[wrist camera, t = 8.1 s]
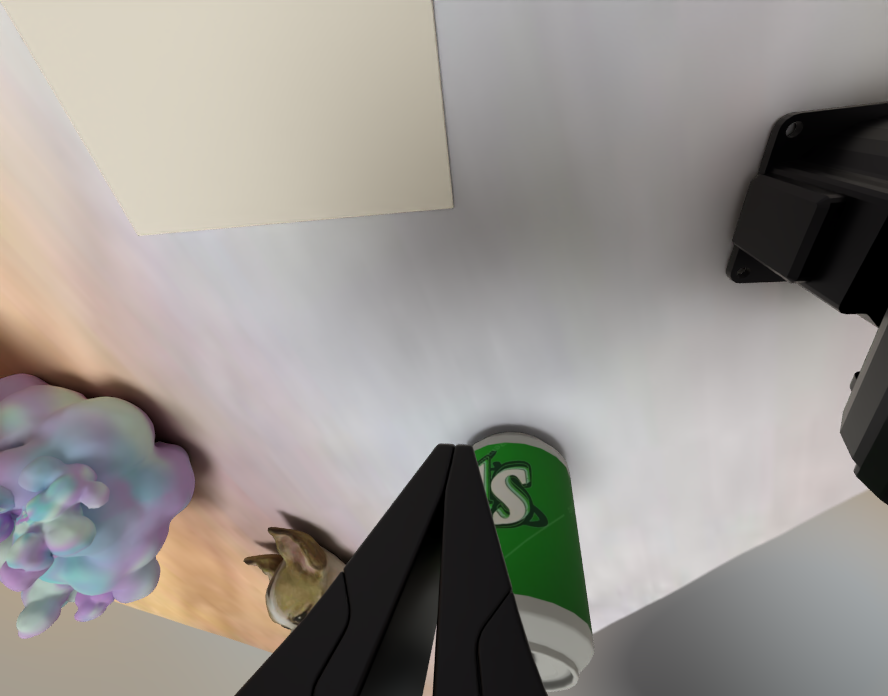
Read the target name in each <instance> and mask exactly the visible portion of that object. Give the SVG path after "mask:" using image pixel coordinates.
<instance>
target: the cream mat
mask: <svg viewBox="0 0 888 696" xmlns="http://www.w3.org/2000/svg"><path fill="white" fill-rule="evenodd" d="M0 2H1V3H2V5H3V7H4V9H5V10H6V12H7V14H8V15H9V17H10V19H11V21H12V22H13V24H14V26H15V27H16V29H17V31H18V32H19V34H20V36H21V38H22V39H23V41H24V43H25V44H26V46H27V48H28V49H29V51H30V53H31V55H32V56H33V58H34V60H35V61H36V63H37V65H38V66H39V68H40V70H41V72H42V73H43V75H44V77H45V78H46V80H47V82H48V83H49V85H50V87H51V89H52V90H53V92H54V94H55V95H56V97H57V99H58V100H59V102H60V104H61V106H62V107H63V109H64V111H65V112H66V114H67V116H68V117H69V119H70V121H71V123H72V124H73V126H74V128H75V129H76V131H77V133H78V134H79V136H80V138H81V140H82V141H83V143H84V145H85V146H86V148H87V150H88V151H89V153H90V155H91V157H92V158H93V160H94V162H95V163H96V165H97V167H98V169H99V170H100V172H101V174H102V175H103V177H104V179H105V180H106V182H107V184H108V186H109V187H110V189H111V191H112V192H113V194H114V196H115V197H116V199H117V201H118V203H119V204H120V206H121V208H122V209H123V211H124V213H125V214H126V216H127V218H128V220H129V221H130V223H131V225H132V226H133V228H134V230H135V231H136V233H137V235H138V236H142V235H154V234H165V233H176V232H188V231H199V230H211V229H222V228H233V227H245V226H256V225H268V224H279V223H290V222H302V221H313V220H325V219H336V218H348V217H359V216H370V215H382V214H393V213H405V212H416V211H427V210H439V209H450V208H453V207H454V205H453V195H452V185H451V175H450V165H449V156H448V146H447V136H446V126H445V116H444V107H443V97H442V87H441V77H440V67H439V58H438V48H437V38H436V28H435V18H434V9H433V0H0Z"/></svg>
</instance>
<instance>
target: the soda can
mask: <svg viewBox="0 0 888 696" xmlns="http://www.w3.org/2000/svg"><path fill="white" fill-rule="evenodd" d="M473 448H474V452H475V455H476V459H477V462H478V466H479V470H480V473H481V477H482V481H483V484H484V488H485V491H486V495H487V499H488V502H489V506H490V509H491V513H492V517H493V520H494V524H495V527H496V531H497V535H498V538H499V542H500V545H501V549H502V553H503V556H504V560H505V563H506V567H507V571H508V574H509V578H510V581H511V585H512V590H513V593H514V595H515V599H516V602H517V606H518V610H519V613H520V617H521V620H522V623H523V626H524V630H525V633H526V636H527V639H528V643H529V646H530V649H531V652H532V654H533V657H534V660H535V663H536V665H537V668H538V671H539V673H540V676H541V679H542V681H543V684H544V687H545V689H546V692H555V691H560V690H566V689H569V688H571V687H573V686H574V685H576V684H577V681H578V679H579V673H580V672H581V671H582V670H583V669H584V668H585V667H586V666H587V664H589V663H590V661H591V658H592V656H593V653H594V642H593V635H592V628H591V621H590V614H589V607H588V600H587V593H586V585H585V578H584V571H583V564H582V557H581V550H580V543H579V536H578V529H577V522H576V515H575V508H574V500H573V493H572V486H571V479H570V472H569V469H568V466H567V464H566V461H565V459H564V458H563V457H562V456H561V455H560V454H559V453H558V451H557V450H556V449H554V448H553V447H551V446H549V445H547V444H546V443H545V442H543V441H542V440H540V439H538V438H536V437H534V436H531V435H528V434H524V433H519V432H503V433H497V434H493V435H491V436H489V437H487V438H484V439H483V440H482V441H480V442H477V443H475V444H474V445H473Z"/></svg>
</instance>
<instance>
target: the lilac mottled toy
mask: <svg viewBox="0 0 888 696" xmlns="http://www.w3.org/2000/svg"><path fill="white" fill-rule="evenodd" d="M154 440H155V431H154V426H153V423H152V421H151V420H150V418H149V417H148V416H147V414H146V413H145V412H144V411H143V410H142V409H140V408H139V407H137V406H135V405H134V404H132V403H130V402H127V401H125V400H122V399H119V398H115V397H97V398H92V399H87V398H86V397H85V396H84V395H83V394H81V393H79V392H76V391H73V390H69V389H66V388H62V387H57V386H51V385H48V384H47V383H46V382H44V381H43V380H41V379H39V378H38V377H35V376H33V375H30V374H25V373H20V374H14V375H11V376H7V377H4V378H1V379H0V581H1V582H2V583H3V584H4V585H5V586H6V587H8V588H9V589H11V590H13V591H17V592H19V591H22V592H21V598H22V601H23V603H24V605H25V608H24V610H23V611H22V612H21V613H20V615H19V617H18V619H17V623H16V626H17V629H18V635H19V636H20V638H23V639H24V638H30V637H33V636H36V635H39V634H40V633H42V632H44V631H45V630H46V629H48V628H49V627H50V626H51V625H52V624H53V623H54V622H55V621H56V620H57V619H58V617H59V615H60V612H61V608H62V607H63V606H65V605H66V604H67V603H68V602H75V603H76V605H77V606H78V611H77V612H76V614H75V620H77V621H80V622H84V621H89V620H92V619H95V618H97V617H98V616H100V615H101V614H102V613H103V612H104V611H105V610H106V607H107V606H108V605H109V604H111V603H112V602H113V601H114V599H116V600H117V601H119V602H121V603H129V602H133V601H136V600H139V599H142V598H144V597H146V596H148V595H149V594H150V593H151V592H152V591H153V590H154V589H155V587H156V586H157V583H158V581H159V577H160V566H159V563H158V561H157V560H156V555H157V553H158V552H159V551H160V549H161V548H162V546H163V544H164V542H165V540H166V537H167V535H168V531H169V524H170V522H171V520H172V519H173V518H174V517H175V516H176V515H177V514H178V513H180V512H181V511H182V510H183V509H184V508H186V506H187V505H188V504H189V502H190V501H191V498H192V496H193V493H194V489H195V477H194V473H193V470H192V467H191V464H190V460H189V456H188V454H187V452H186V451H185V450H184V449H183V448H182V447H181V446H178V445H174V444H167V443H163V442H160V441H159V442H157V443H155V444H154Z"/></svg>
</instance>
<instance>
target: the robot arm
mask: <svg viewBox="0 0 888 696" xmlns="http://www.w3.org/2000/svg"><path fill="white" fill-rule="evenodd" d="M794 122H796V129H795V130H794V132H793V133H792V134H790V135H789V136H787V135H786V130H787V128H788V127H789V126H790V125H791V124H792V123H794ZM732 241H733V243H734V244H735V246H734V249H733V252H732V255H731V258H730V261H729V264H728V267H727V271H726V274H727V276H728V277H729V278H730V279H731V280H732V281H734V282H735V283H757V282H782V281H788V282H790V283H797V284H799V285H800V286H802V287H803V288H805V289H806V290H808V291H809V292H811V293H812V294H814V295H815V296H816V297H818V298H819V299H821V300H822V301H824V302H825V303H827V304H828V305H830V306H831V307H833V308H834V309H836V310H837V311H839V312H840V313H843V314H857V315H859V316H860V317H862V318H863V319H865V320H867V321H868V322H870V323H871V324H873V325H874V326H876V327H877V328H879V329H878V331H877V333H876V336H875V338H874V340H873V343H872V345H871V347H870V350H869V352H868V354H867V357H866V359H865V361H864V364H863V366H862V368H861V371H859V372H856V373H855V374H854V377H853V379H852V381H851V384H850V389H851V391H852V392H851V395H850V397H849V399H848V401H847V404H846V406H845V408H844V411H843V416H842V422H841V429H840V434H841V436H842V438H843V440H844V442H845V444H846V446H847V449H848V451H849V453H850V455H851V457H852V459H853V460H854V461H855V463H856V466H855V468H854V473H855V475H856V477H857V478H858V479H859V480H861V481H862V482H863V483H864V484H865V485H866V486H867V487H868V488H869V489H870V490H871V491H872V492H873V493H874V494H875V495H876V496H877V497H878V498H879V499H880V500H882V501H883V502H884V503H886V504H887V505H888V102H879V103H871V104H862V105H854V106H845V107H837V108H829V109H820V110H812V111H803V112H795V113H791V114H787V115H785V116H784V117H782V118H781V119H780V120H779V121H778V122H777V123H776V124H775V126H774V128H773V130H772V132H771V135H770V139H769V142H768V145H767V148H766V151H765V154H764V157H763V160H762V163H761V166H760V169H759V172H758V175H757V176H756V177H755V178H754V179H753V180H752V181H751V183H750V186H749V190H748V193H747V196H746V199H745V202H744V205H743V208H742V211H741V214H740V218H739V221H738V224H737V227H736V230H735V233H734V236H733V240H732ZM745 267H746V269H745V271H744V272H743V273H741V274H738V275H737V272H738V271H739V270H740V269H741V268H745ZM343 570H344V572H343V571H342V572H340V573H339V574H338V576H337V577H336V578H335V580H334V581H333V582H332V584H331V585H330V586H329V588H328V589H327V590H326V592H325V593H324V594H323V595H322V597H321V598H320V599H319V600H318V602H317V603H316V604H315V605H314V607H313V608H312V609H311V610H310V612H309V613H308V614H307V615H306V616H305V618H304V619H303V620H302V621H301V622H300V623H299V624H298V626H297V627H296V628H295V629H294V630H293V631H292V632H291V634H290V635H289V636H288V637H287V638H286V639H285V640H284V642H283V643H282V644H281V645H280V646H279V647H278V648H277V649H276V650H275V651H274V653H273V654H272V655H271V656H270V657H269V658H268V659H267V660H266V661H265V663H264V664H263V665H262V666H261V667H260V668H259V669H258V670H257V671H256V672H255V674H254V675H253V676H252V677H251V678H250V679H249V680H248V681H247V682H246V683H245V684H244V686H243V687H242V688H241V689H240V690H239V691H238V692H237V693H236V695H235V696H422V695H423V690H424V685H425V680H426V675H427V670H428V665H429V660H430V655H431V650H432V645H433V640H434V635H435V630H436V625H437V630H436V647H435V664H434V681H433V696H548V694H547V692H546V689H545V687H544V684H543V681H542V679H541V676H540V673H539V671H538V668H537V665H536V663H535V660H534V657H533V654H532V652H531V649H530V646H529V643H528V639H527V636H526V633H525V630H524V626H523V623H522V620H521V617H520V613H519V610H518V606H517V602H516V599H515V595H514V593H513V590H512V585H511V581H510V578H509V574H508V571H507V567H506V563H505V560H504V556H503V553H502V549H501V545H500V542H499V538H498V535H497V531H496V527H495V524H494V520H493V517H492V513H491V509H490V506H489V502H488V499H487V495H486V491H485V488H484V484H483V481H482V477H481V473H480V470H479V466H478V462H477V459H476V455H475V452H474V448H473V446H472V445H465V444H457V445H456V446H455V445H454V444H438V445H437V446H436V447H435V448H434V450H433V451H432V452H431V454H430V455H429V456H428V458H427V459H426V460H425V462H424V463H423V464H422V466H421V467H420V468H419V470H418V471H417V472H416V473H415V475H414V476H413V477H412V479H411V480H410V481H409V483H408V484H407V485H406V487H405V488H404V489H403V491H402V492H401V493H400V495H399V496H398V497H397V498H396V500H395V501H394V502H393V504H392V505H391V506H390V508H389V509H388V510H387V512H386V513H385V514H384V516H383V517H382V518H381V520H380V521H379V522H378V523H377V525H376V526H375V527H374V529H373V530H372V531H371V533H370V534H369V535H368V537H367V538H366V539H365V541H364V542H363V543H362V545H361V546H360V547H359V548H358V550H357V551H356V552H355V554H354V555H353V556H352V558H351V559H350V560H349V562H348V563H347V564H346V566H345V567H344V569H343Z"/></svg>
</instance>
